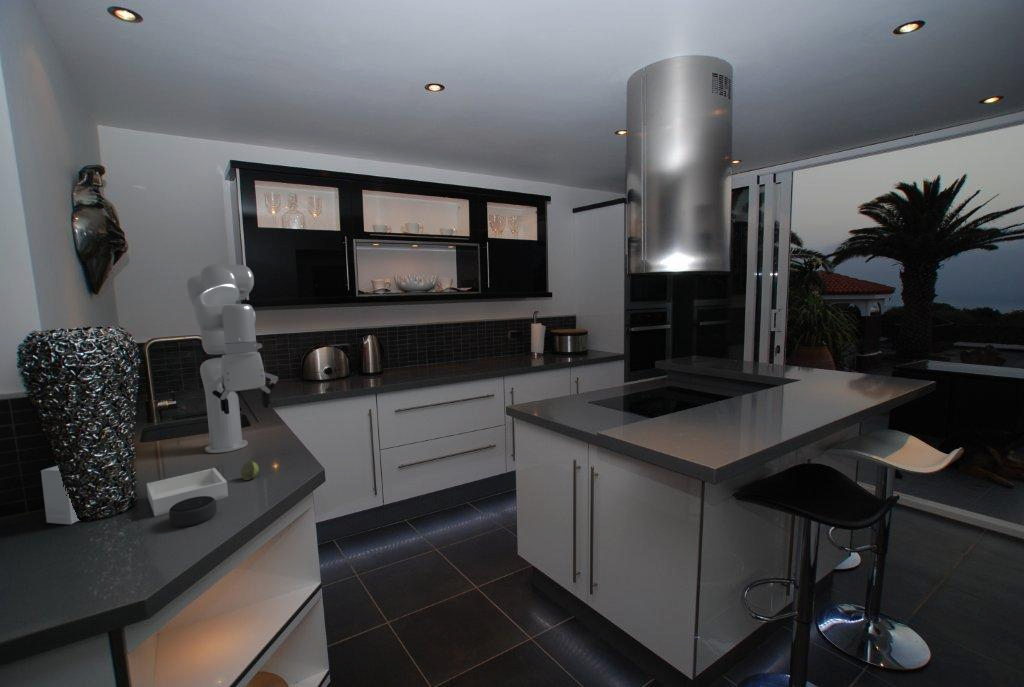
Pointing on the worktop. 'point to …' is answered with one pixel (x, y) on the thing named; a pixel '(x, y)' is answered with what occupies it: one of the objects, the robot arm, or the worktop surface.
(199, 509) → the smart speaker
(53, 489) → the grey tall block
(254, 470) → the lime
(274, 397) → the worktop surface
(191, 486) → the bin
